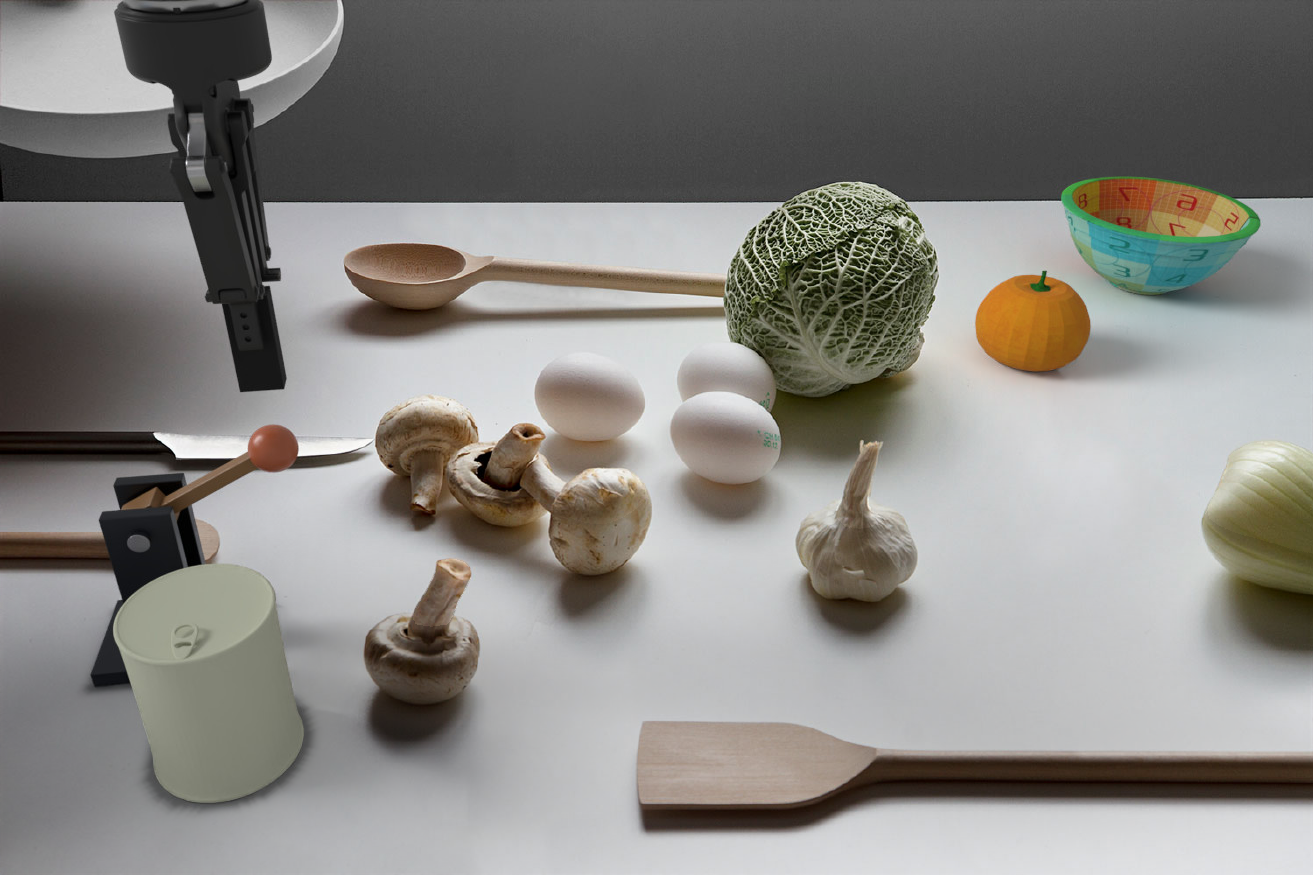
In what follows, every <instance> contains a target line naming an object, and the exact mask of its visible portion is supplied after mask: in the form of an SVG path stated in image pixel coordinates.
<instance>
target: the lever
mask: <svg viewBox="0 0 1313 875" xmlns="http://www.w3.org/2000/svg"><path fill="white" fill-rule="evenodd" d="M299 450H300V448H299V441H298V439H297V437H296V435H295V434H294V432H292V431H291V430H290V429H289V428H287V427H286V426H283V425H280V424H276V423H275V424H274V423H273V424H267V425H262V426H260V427H258V428H257V429H256V430H255V431H254V432H253V433H252V434H251V435H250V437H249V440H248V442H247V451H246V452H244V453H242V454H240V455H238V456H237V457H234V458H233V459H231V460H229V461H228V462H226V463H224V464H222V465H220V466H219V467H217V468H215V469H213V470H211V471H210V472H208V473H206V474H205V475H203V476H201V477H199V478H197V479H196V480H194V481H191V482H190V483H187V485H186V486H184V487H183V488H181V489H179V490H177V491H175V492H174V493H172V494H170V495H168V496H165V495H164V494H163V493H162V492H161V491H160V490H159V489H158V488H157V487H155V488H154V489H152V490H150V491H148V492H146V493H145V494H143V495H141V496H139V497H137V498H136V499H134V500H132V501H130V502H128V503H127V504H125V505H123V506H122V509H121V510H127V509H140V508H153V507H166V506H172V507H173V510H174V514H175V518H176V522H177V519H178V516H179V513H180V511H181V510H183V509H185V508H187V507H188V506H190V505H192V506H193V505H194V504H195V503H198V502H200V501H202V500H203V499H205V498H206V497H209V496H210V495H212V494H214V493H216V492H217V491H219V490H221V489H223V488H225V487H226V486H228V485H230V484H232V483H234V482H236V481H237V480H240V479H241V478H243V477H245V476H247V475H249V474H250V473H253V472H254V471H256V470H257V469H259V470H261V471H262V472H265V473H271V474H272V473H273V474H274V473H276V474H277V473H281V472H284V471H286V470H288V469H289V468H291V467H292V466H293V464H294V463H295V462H296V460H297V458H298V455H299Z"/></svg>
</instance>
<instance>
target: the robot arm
mask: <svg viewBox="0 0 1313 875" xmlns="http://www.w3.org/2000/svg"><path fill="white" fill-rule="evenodd" d="M116 7H117V8H116V9H114V10H113V14H114V19H115V23H116V27H117V32H118V36H119V40H120V45H121V49H122V53H123V58H124V62H125V66H126V69H127V71H128V72H129V73H130V75H131V76H133V78H135V79H137V80H139V81H142V82H144V83H148V84H152V85H154V84H160V85H162V86H164V87H167V88H168V89H169V90H170V91H171V94H172V95H173V96H172V97H173V98H172V104H173V112H172V113H171V112H170V113H168V114H167V117H166V118H167V119H166V120H167V127H168V128H167V129H168V132H169V137H170V142H171V144H172V145H173V146H174V148H176V150H177V152H178V156H177V157H171V158H170V161H169V172H170V175H171V176H172V179H173V181H174V183H175V185H176V188H177V190H178V192H179V194H180V197H181V200H182V202H183V206H184V210H185V213H186V217H187V220H188V223H189V227H190V230H191V234H192V237H193V241H194V244H195V248H196V251H197V255H198V258H199V261H200V265H201V268H202V273H203V275H204V279H205V281H206V286H207V290H206V292H205V295H204V299H205V302H206V303H212V304H213V305H221V307H222V313H223V318H224V321H225V327H226V331H227V337H228V340H229V345H230V351H231V355H232V359H233V360H232V361H233V365H234V370H235V376H236V380H237V384H238V389H239V393H249V392H267V391H280V390H281V391H282V390H285V388H286V383H287V380H288V378H287V373H286V372H287V371H286V367H285V366H286V365H285V361H284V356H283V350H282V345H281V338H280V333H279V328H278V324H277V317H276V312H275V311H276V310H275V307H274V300H273V295H272V288H271V285H264V284H263V283H273V282H281V281H282V271H281V267H268V262H270V260H271V259H272V247H271V246H270V243H269V242H270V241H269V236H268V227H267V221H266V213H265V212H266V211H265V206H264V198H263V191H262V183H261V174H260V168H259V160H258V153H257V146H256V138H255V125H254V124H255V116H254V113H255V107H254V104H253V103H252V100H251V98H250V97H241V91H240V85H239V81H242V80H246V79H250V78H252V77H255V76H257V75H260V74H261V73H264V72H265V71H266V70H267V69H268V68H269V67H270V65H271V63H272V60H273V54H272V48H271V43H270V36H269V35H270V34H269V30H268V24H267V17H266V11H265V4H264V2H263V1H261V0H122V1H120V2H118V4H117V6H116Z"/></svg>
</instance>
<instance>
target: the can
mask: <svg viewBox="0 0 1313 875" xmlns="http://www.w3.org/2000/svg"><path fill="white" fill-rule="evenodd" d="M113 634H114V638H115V641H116V643H117V645H118V647H119V650H120V653H121V655H122V658H123V661H124V664H125V667H126V670H127V673H128V676H129V680H130V683H131V684H130V686H131V689H132V692H133V695H134V698H135V702H136V704H137V707H138V711H139V714H140V718H141V721H142V725H143V727H144V731H145V734H146V738H147V741H148V744H149V748H150V751H151V755H152V761H153V762H152V765H153V766H152V767H153V771H154V774H155V775H154V776H155V777H156V779H157V781H158V783H159V784H160V785H161V787H162V788H163V789H164V790H165V791H167V792H168V793H169V794H171V795H173V796H174V797H177V798H178V799H182V800H185V801H188V802H191V803H199V804H200V803H201V804H215V803H217V804H218V803H223V802H229V801H234V800H237V799H240V798H244V797H246V796H249V795H251V794H254V793H256V792H258V791H260V790H262V789H264V788H266V787H267V786H269V785H270V784H272V783H273V782H275V781H276V780H277V779H278V778H280V777H281V776H282V775H283V774H284V773H285V772H286V771H287V770H288V769H289V768H290V767H291V765H293V763H294V762H295V761H296V759H297V757H298V756H299V753H300V751H301V749H302V746H303V742H304V737H305V736H304V735H305V728H304V727H305V726H304V723H303V720H302V717H301V715H300V713H299V711H298V706H297V702H296V699H295V694H294V689H293V685H292V679H291V675H290V670H289V664H288V661H287V660H288V659H287V655H286V650H285V646H284V641H283V636H282V630H281V625H280V618H279V613H278V609H277V596H276V592H275V589H274V586H273V584H271V582H270V581H269V580H268V579H267V577H266V576H264V575H263V574H261V573H260V572H258V571H257V570H254V569H252V568H249V567H246V566H243V565H238V564H232V563H206V564H205V565H197V566H192V567H187V568H184V569H180V570H177V571H174V572H171V573H168V574H166V575H163V576H161V577H159V578H157V579H155V580H153V581H151V582H149V583H148V584H146V585H145V586H143V587H142V588H140V589H139V590H138V591H136V592H135V593H134V594H133V595H132V596H130V597H129V598H128V599H127V601H126V602H125V603H124V604H123V605H122V607H121V608H120V610H119V611H118V613H117V615H116V618H115V621H114V626H113Z"/></svg>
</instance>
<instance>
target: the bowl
mask: <svg viewBox="0 0 1313 875" xmlns="http://www.w3.org/2000/svg"><path fill="white" fill-rule="evenodd" d="M1060 196H1061V197H1060V198H1061V199H1060V200H1061V204H1062V206H1063V208H1064V216H1065V219H1066V221H1067V223H1068V228H1069V232H1070V237H1071V239H1072V241H1073V244H1074V246H1075V248H1076V250H1077V252H1078V253H1079V254H1080V257H1081V258H1082V259H1083V261H1084V262H1085V263H1086V264H1087V266H1089V267H1090V268H1091V269H1092V270H1093V271H1094V272H1095V273H1096V274H1098V275H1099V276H1101V277H1102V278H1103V279H1105V280H1106V281H1108V282H1109V283H1110V285H1112V286H1114V287H1115V288H1117V289H1120V290H1122V291H1125V292H1128V293H1133V294H1138V295H1145V296H1146V295H1147V296H1156V295H1163V294H1166V293H1168V292H1173V291H1178V290H1182V289H1185V288H1188V287H1191V286H1194V285H1196V284H1198V283H1200V282H1203V281H1204V280H1206V279H1208V278H1209V277H1212V276H1213V275H1214V274H1216V273H1217V272H1218V271H1220V270H1221V269H1222V268H1223V267H1224V266H1226V265H1227V264H1228V263H1229V262H1230V261H1231V260H1232V259H1233V258H1234V256H1235V255H1236V254H1237V253H1238V252H1239V250H1240V249H1242V248H1243V247H1244V246H1246V244H1247V242H1248V241H1249V240H1250V239H1251V237H1253V235H1255V234H1256V233H1257V232H1258V231H1259V229H1260V228H1261V218H1260V216H1259V214H1258V213H1257V212H1256V211H1254V209H1253V208H1252V207H1250V206H1248V205H1247V204H1245V203H1243V202H1242V201H1240V200H1238V199H1236V198H1235V197H1231V196H1229V195H1227V194H1224V193H1222V192H1219V191H1216V190H1213V189H1210V188H1206V187H1203V186H1200V185H1195V184H1191V183H1186V182H1181V181H1175V180H1170V179H1164V178H1163V179H1161V178H1154V177H1145V176H1103V177H1096V178H1088V179H1085V180H1080V181H1078V182H1074V183H1072V184H1070V185H1069V186H1067V187H1066V188H1065V189H1064V190H1063V191H1062V193H1061V195H1060Z"/></svg>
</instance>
